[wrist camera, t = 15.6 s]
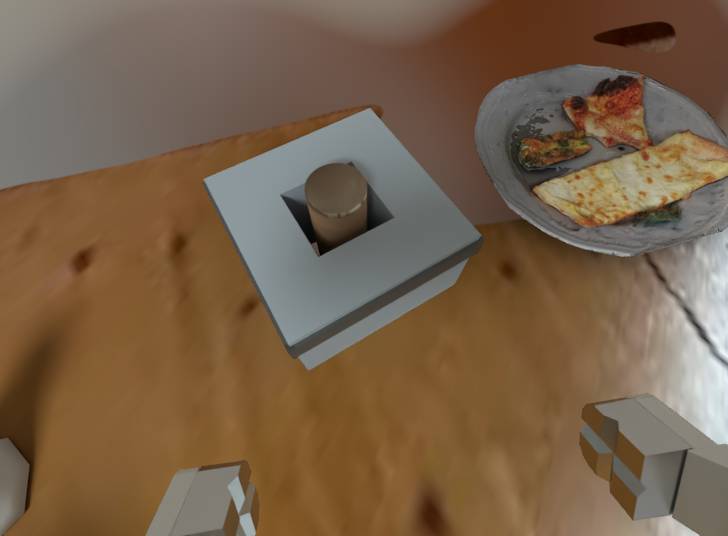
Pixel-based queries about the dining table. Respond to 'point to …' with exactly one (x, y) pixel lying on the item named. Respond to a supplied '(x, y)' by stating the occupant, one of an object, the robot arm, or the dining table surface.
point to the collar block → (353, 259)
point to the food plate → (605, 158)
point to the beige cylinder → (336, 204)
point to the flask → (12, 484)
